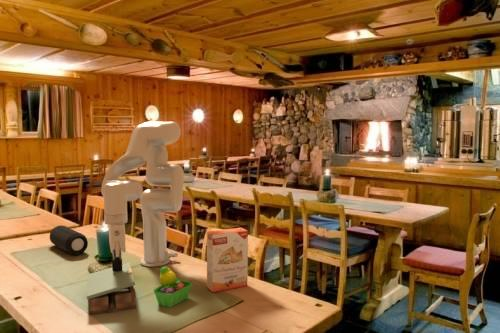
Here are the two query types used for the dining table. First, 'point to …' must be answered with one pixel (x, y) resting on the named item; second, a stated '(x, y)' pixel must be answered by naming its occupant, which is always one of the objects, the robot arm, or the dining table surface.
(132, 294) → the brown brick base
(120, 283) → the cover
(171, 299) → the green plastic basket
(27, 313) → the dining table surface
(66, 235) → the portable speaker
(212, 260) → the cracker box
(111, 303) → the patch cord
